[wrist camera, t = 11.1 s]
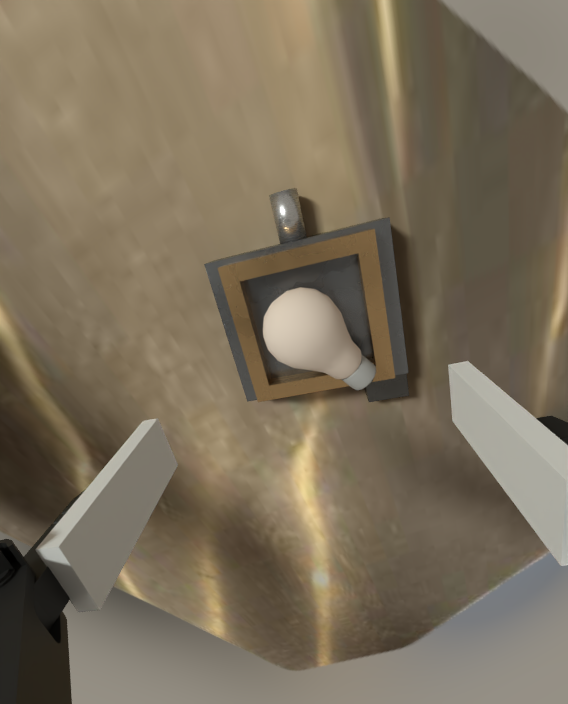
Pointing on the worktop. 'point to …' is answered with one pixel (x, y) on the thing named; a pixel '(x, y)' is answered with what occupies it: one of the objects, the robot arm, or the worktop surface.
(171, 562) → the worktop surface
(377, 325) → the grey brown-rimmed square tray
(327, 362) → the light bulb
